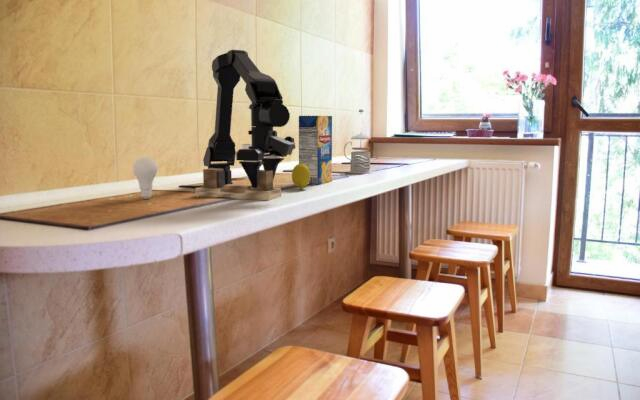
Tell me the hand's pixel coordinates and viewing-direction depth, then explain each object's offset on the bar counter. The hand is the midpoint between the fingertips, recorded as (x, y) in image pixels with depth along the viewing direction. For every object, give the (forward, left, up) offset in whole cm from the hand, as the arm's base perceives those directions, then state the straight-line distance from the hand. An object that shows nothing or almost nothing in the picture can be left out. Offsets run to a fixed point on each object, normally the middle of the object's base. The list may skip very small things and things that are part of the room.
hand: (263, 185), depth 146 cm
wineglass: (-27, +47, -3) cm, 54 cm away
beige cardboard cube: (0, 0, -2) cm, 2 cm away
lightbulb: (-27, -13, -3) cm, 31 cm away
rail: (-7, 0, -3) cm, 8 cm away
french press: (+4, +80, -3) cm, 80 cm away
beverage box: (+1, +39, -3) cm, 39 cm away
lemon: (+3, +21, -3) cm, 21 cm away
